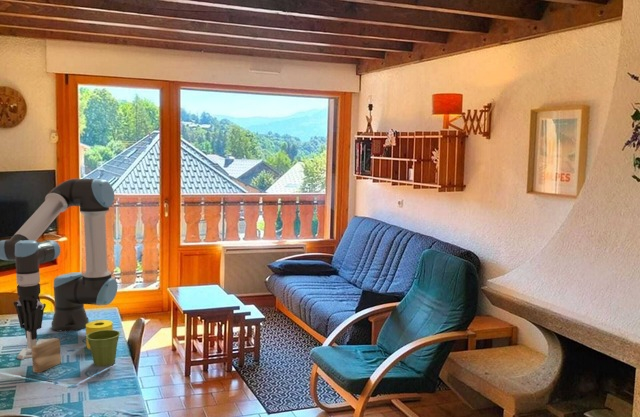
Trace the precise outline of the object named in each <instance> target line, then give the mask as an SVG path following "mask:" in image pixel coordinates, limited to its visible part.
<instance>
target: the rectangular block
mask: <svg viewBox="0 0 640 417" xmlns="http://www.w3.org/2000/svg"><path fill="white" fill-rule="evenodd" d="M49 339H50V340H48V341H45V342H43V343H40V344H38V345H35V346H33V347H32V354H31V355H32V358H31V360H32V372H34V373H38V374H39V373H42V372H44V371H46V370H48V369H51V368H53V367H55V366H57V365H59V364H61V363H62V357H61V356H62V354H61V339H60V338H55V337H52V338H49Z"/></svg>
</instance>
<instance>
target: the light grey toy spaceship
mask: <svg viewBox="0 0 640 417" xmlns="http://www.w3.org/2000/svg"><path fill="white" fill-rule="evenodd" d="M50 339H51V338H39V339H38V340H36V345H38V344H40V343H43V342H45V341H48V340H50ZM16 358H17V360H22V361H24V360H25V359H30V358H31V359H32V349H28V348H27V347H26V348H22V349H21V350H20V352H19V353H18V355H17V356H16Z"/></svg>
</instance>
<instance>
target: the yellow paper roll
mask: <svg viewBox="0 0 640 417" xmlns="http://www.w3.org/2000/svg"><path fill="white" fill-rule="evenodd" d="M113 324H114V322H113V321H111V320H107V319H101V320H99V319H98V320H92V321H89V323H87V324H86V327H85V336H87V335H88V334H89V333H92V332H95V331H100V330H114V325H113ZM85 339H86V348H87V349H88V350H91V348H90V344H89V342H88V339H87V338H86V337H85Z"/></svg>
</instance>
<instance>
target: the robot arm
mask: <svg viewBox="0 0 640 417" xmlns="http://www.w3.org/2000/svg"><path fill="white" fill-rule="evenodd" d="M114 201H115V192H114V188H113V186H112V184H111V183H110V182H109V181H108V180H106V179H100V178H71V179H70V178H69V179H67V180H65V181H63V182H61V183H59V184H58V185H57V186H55V187H54V188H52V189H51V190H50V191H49V192H48V193H47V194H46V195H45V198H44V202H42V203H41V205H40V206H39V207H38V208H37V209H36V210H35V211H34V213H33V214H32V215H31V216H30V217H29V218H28V219H27V220H26V221H25V222H24V223H23V224H22V226H21V227H20V228H19V229H18V230H17V231H16V232H15V233H14V234H13V235H12V236H11V238H10V239H5V240H3V239H2V240H0V260H3V261H8V262H11V261H13V262H15V269H16V271H15V274H16V284H17V286H16V290H17V291H16V293H17V294H16V295H17V296H18V300H16V301H14V302H13V305H14V308H15V310H16V313H17V318H18V322H19V326H20V329H24V331H25V338H26V344H27V345H26V346H27V347H26V348H28V349H32V347H33V346H35V345H36V343H37V338H38V330H40V329H41V328H42V326H43V325H42V324H43V318H44V311H45V308H46V307H47V305H46V303H42V302H41V299H40V294H41V283H40V282H41V278H40V277H41V276H40V265H41V264H44V263H47V262H51V261H53V260H55V259H57V258H58V257H59V256H60V255H61V245H60V244H59V243H58V242H57V241H56V240H53V239H50V240H49V239H48V240H44V241H37V240H38V239H39V238H40V237H41V236H42V235H43V233H44V232H45V231H46V230H47V229H48V228H49V226H50V225H51V224H52V223H53V222H54V220H56V218H57V217H58V216H59V215H60V213H64V212H65V211H66V210H67V209H68V208H71V207H79V212H80V213H81V214H82V215H83V224H84V226H83V227H84V245H85V246H84V247H85V250H84V251H85V271H84V273H82V272H80V271H79V272H76V271H75V272H69V273H66V274H60V275H58V276H56V277H55V278H54V280H53V293H54V294H53V296H54V313H53V318H52V320H51V329H52V330H53V331H57V332H72V331H74V332H75V331H77V330H78V331H79V330H82V329H86V324H87V323H89V322H90V321H89V317H88V315H87V313H86V309H85V307H84V306H85V305H91V306H92V305H95V306H108V305H110V304H111V303H113V301H114V300H115V298H116V295H117V292H118V286H119V285H118V281H117V280H116V279H115V278H114V277H112V272H111V271H110V270H109V269H108V251H107V250H108V246H107V225H106V224H107V222H106V221H107V218H106V215H107V213H108V212H109V211H110V207H112V206H113V204H114Z"/></svg>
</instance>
